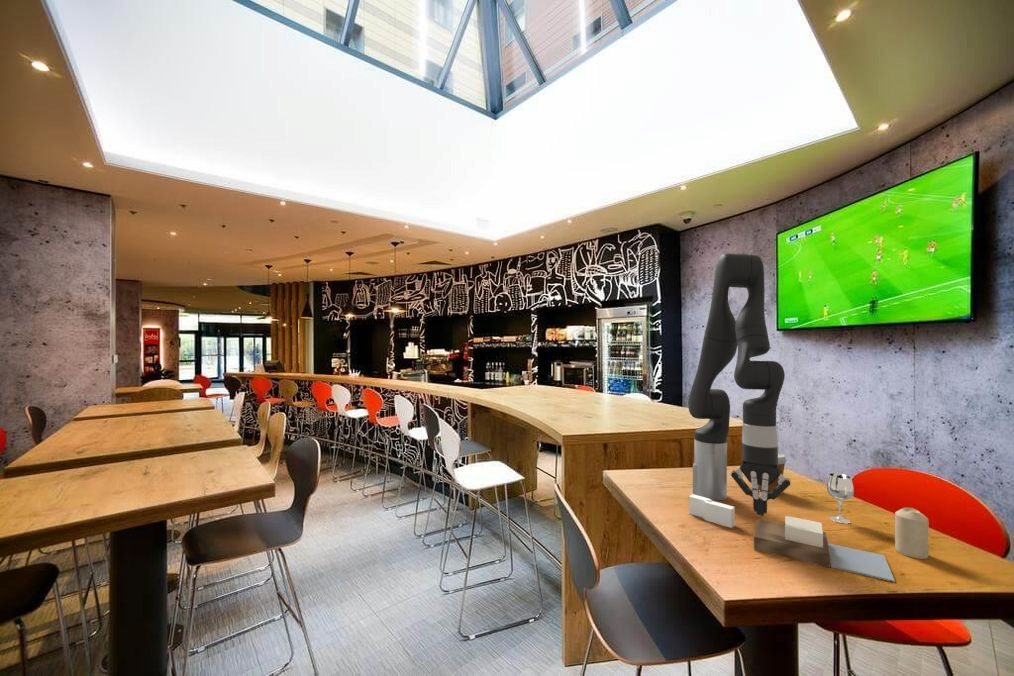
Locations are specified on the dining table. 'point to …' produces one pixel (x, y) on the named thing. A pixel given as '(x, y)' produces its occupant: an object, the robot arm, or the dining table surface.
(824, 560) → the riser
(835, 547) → the mat
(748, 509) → the dining table surface
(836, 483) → the wineglass
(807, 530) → the white block
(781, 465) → the disposable coffee cup
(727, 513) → the napkin holder
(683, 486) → the dining table surface
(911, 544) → the candle
